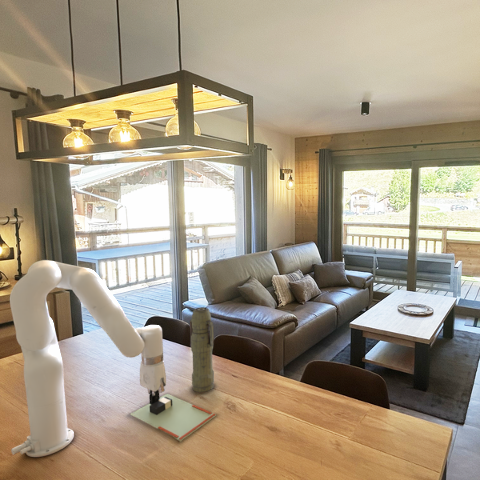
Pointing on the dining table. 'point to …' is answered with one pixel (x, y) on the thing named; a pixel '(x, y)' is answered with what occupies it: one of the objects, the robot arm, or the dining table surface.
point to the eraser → (160, 405)
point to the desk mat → (176, 418)
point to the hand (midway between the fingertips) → (154, 403)
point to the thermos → (202, 349)
